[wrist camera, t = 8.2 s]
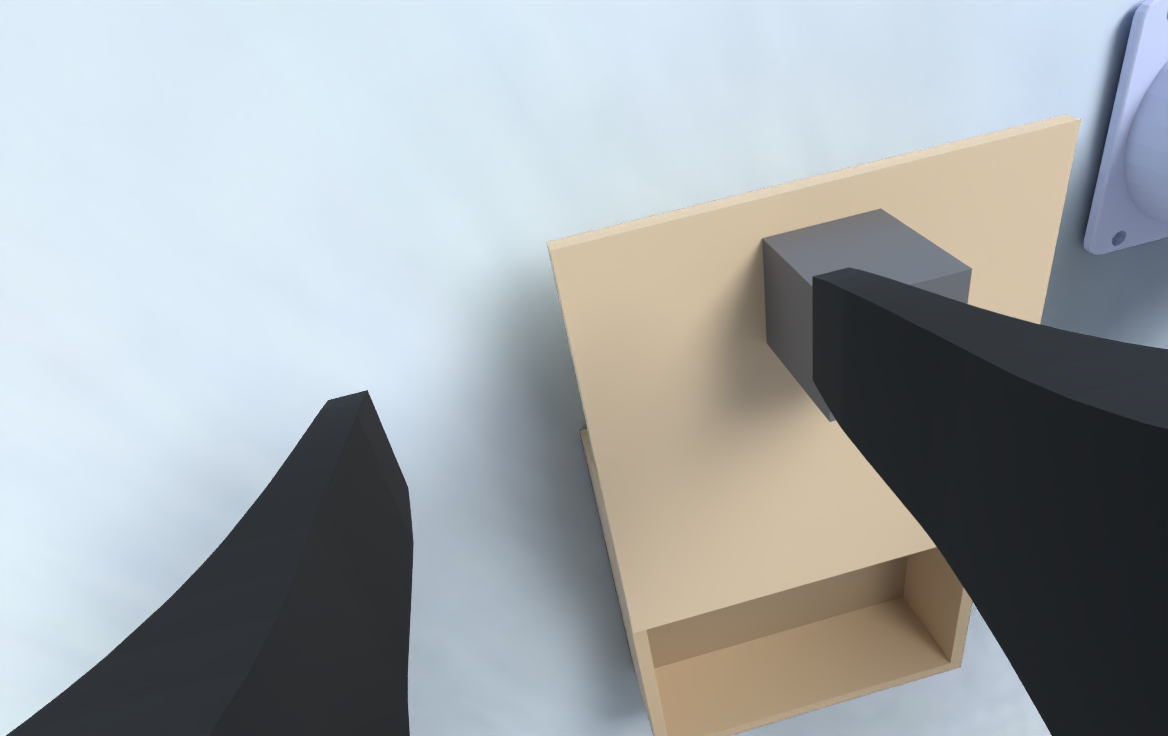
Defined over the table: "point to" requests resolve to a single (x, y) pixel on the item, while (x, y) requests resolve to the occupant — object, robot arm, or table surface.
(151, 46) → the table surface
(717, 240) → the sliding lid
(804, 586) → the carton
